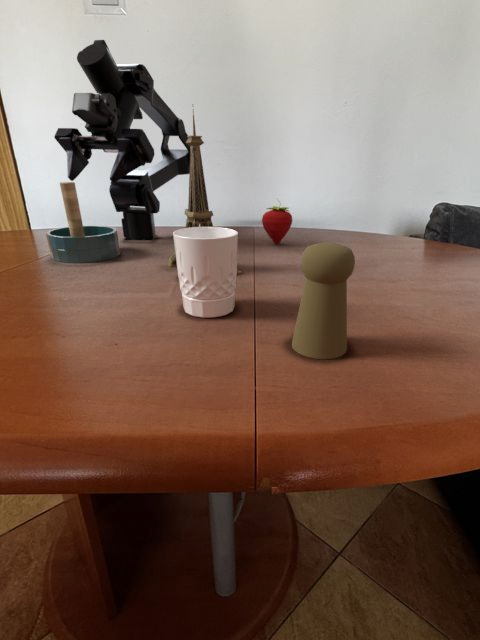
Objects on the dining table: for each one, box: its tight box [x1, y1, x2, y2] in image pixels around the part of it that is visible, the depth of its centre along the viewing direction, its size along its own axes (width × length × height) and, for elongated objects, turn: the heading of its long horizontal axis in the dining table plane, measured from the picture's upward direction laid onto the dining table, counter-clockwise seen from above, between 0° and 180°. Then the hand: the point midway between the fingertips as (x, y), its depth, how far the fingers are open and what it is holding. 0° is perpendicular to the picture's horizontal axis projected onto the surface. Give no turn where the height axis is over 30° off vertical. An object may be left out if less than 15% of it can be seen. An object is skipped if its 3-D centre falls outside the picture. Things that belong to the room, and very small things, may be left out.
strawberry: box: [261, 199, 293, 245], centre depth 86 cm, size 6×8×10 cm
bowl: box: [45, 225, 121, 264], centre depth 72 cm, size 12×12×5 cm
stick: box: [59, 181, 85, 237], centre depth 69 cm, size 4×4×13 cm
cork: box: [291, 242, 356, 360], centre depth 39 cm, size 6×6×11 cm
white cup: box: [172, 226, 239, 319], centre depth 48 cm, size 8×8×10 cm
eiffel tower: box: [165, 103, 243, 279], centre depth 62 cm, size 11×11×25 cm
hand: (90, 180), depth 71 cm, fingers open, 9 cm apart
